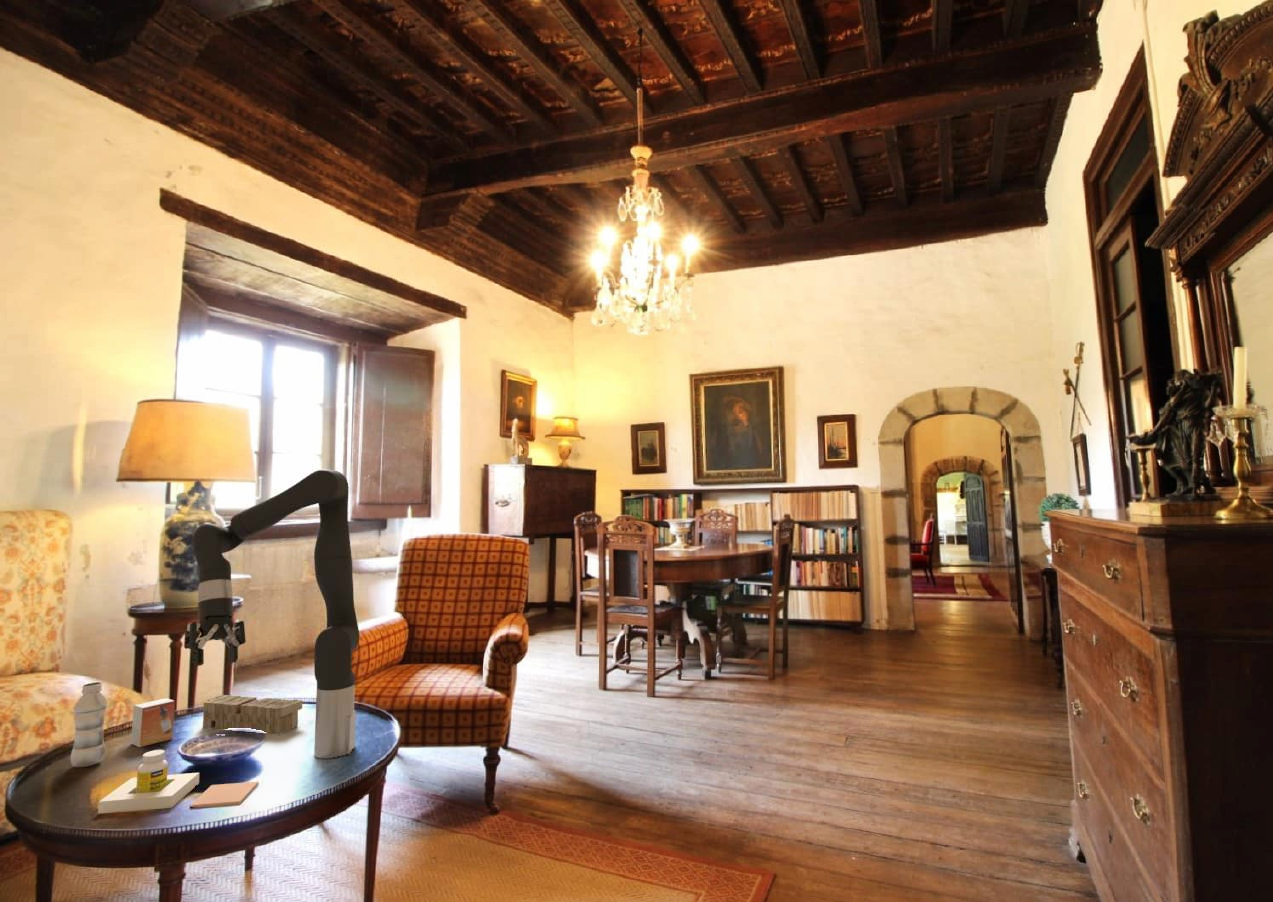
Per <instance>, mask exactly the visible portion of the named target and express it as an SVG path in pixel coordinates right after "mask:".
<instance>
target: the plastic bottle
mask: <svg viewBox="0 0 1273 902" xmlns="http://www.w3.org/2000/svg"><path fill="white" fill-rule="evenodd" d="M102 687H103V682H101V681H100V682H99V681H98V682H96V681H95V682H90V683H85V684H83V685H82V688H81V689H82V690H81V694H82V695H81V696H80V698H78V700H77V701H76V703H75V704H74V706H73V718H74V730H75V731H74V740H73V748H72V750H71V752H70V753H71V754H70V758H69V760H70V764H71V765H72V766H73V767H74V768H85V767H90V766H94V765H96V764H99V763H100V762H102V760H103V759H104V758H105V754H106V746H105V741H104V724H105V723H104V722H105V717H106V713H107V709H108V708H107V707H108V700H107V698H106V697H105V696H104V695H103V694H102V693H101V691H103V688H102Z"/></svg>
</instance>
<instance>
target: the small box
mask: <svg viewBox="0 0 1273 902" xmlns="http://www.w3.org/2000/svg"><path fill="white" fill-rule="evenodd" d="M175 703H176V702H175V700H173V699H170V698H167V697H164V698H161V699H157V700H152V701H148V702H143V703H138V704H133V710H132V711H133V712H132V723H131V725H132V726H131V736H130V737H131V738H130V739H131V740H130V744H131V745H134V746H136V747H138V748H142V747H145V746H150V745H153V744H157V743H161V742H166V741H170V740H173V737H174V736H173V735H174V722H175V720H174V719H175ZM169 739H170V740H169Z"/></svg>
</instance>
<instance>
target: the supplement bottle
mask: <svg viewBox="0 0 1273 902" xmlns="http://www.w3.org/2000/svg"><path fill="white" fill-rule="evenodd" d="M165 755H166V751H165V750H164V749H154V750H150V751H147V752H145V753H143V755H142V758H141V759H142V764H140V765H139V766H138V768H137V776H136V777H137V787H136V793H148V792H160V791H161V790H162V789H164V788H165V787H166V783H167V775H168V767H169V766H168V764H169V763H168V761H167V760H166V759H165V757H166V756H165Z"/></svg>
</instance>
